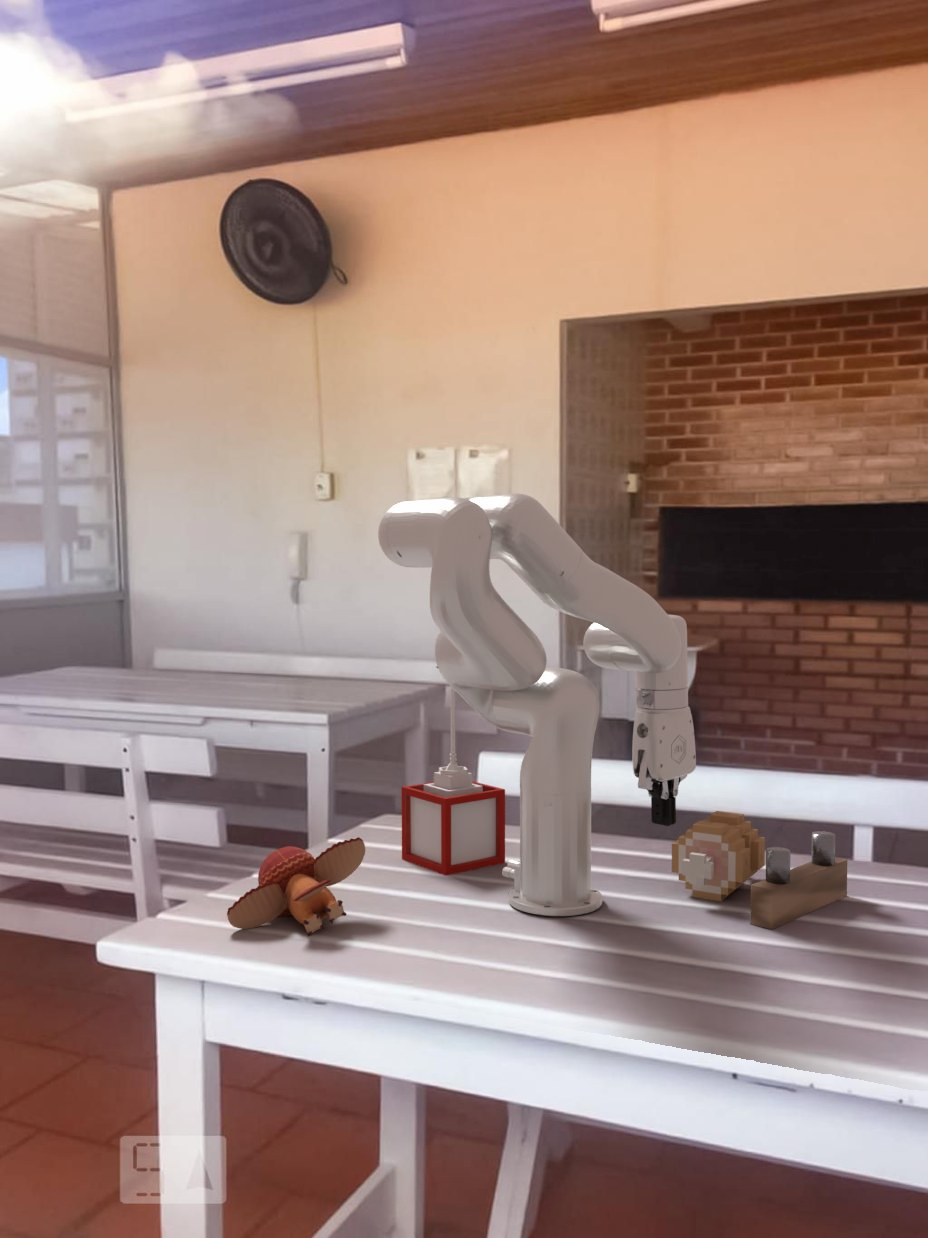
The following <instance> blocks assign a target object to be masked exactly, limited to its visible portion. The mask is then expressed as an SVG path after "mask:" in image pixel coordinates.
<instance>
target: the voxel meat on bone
mask: <svg viewBox="0 0 928 1238" xmlns="http://www.w3.org/2000/svg"><path fill="white" fill-rule="evenodd" d="M765 843H766V837H765V836H764V837H763V836H759V829H756V828H752V821H749V820H748V821H747V820H745V813H738V812H732V811H730V812H729V811H721V810H716V811H714V812H712V813H710V814H709V817H707V818H706V819H704V820H701V819H700V820H699V821H696V822H695V823H693V824H692V827H690V828H688V829H687V830H685V833H684V834H682V835H681V836H679V837H678V839H677V840H675V841H674V842H672V843H671V873H675V874H678V881H679V882H680V881H681V882H685V883H684V884H685V887H684V888H685V889H686V890H691V892H692V896H691V897H694V898H698V899H705V900H711V901H717V902H722V901H723V900H725V898H726V897H728V896H729V895H730V894H732V893H733V892H734V891H735V890H736V889H738V888H739V887H741V886H742V885H743V884H744V883H746V882H747V881H748V880H749V879H751V878H752V877H753V876H754V875H755V874H756V873H758V871H760V870H761V869H762V868H764V866H765V867H766V846H765V845H766V844H765Z"/></svg>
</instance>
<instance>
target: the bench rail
mask: <svg viewBox="0 0 928 1238" xmlns="http://www.w3.org/2000/svg"><path fill="white" fill-rule="evenodd" d="M847 896H848V859H846V858H841V857H837V856H836V833H834V832H831V831H825V830H824V831H823V830H818V831H812V832H811V861H809V862H806V863H804V864H801V865H799V866H796V867H794V868H792V869H791V849H789V848H786V847H781V846H780V847H779V846H769V847H767V848H766V847H765V879H762V880H760V881H757V882H755V883H752V884H750V921H749V922H750V925H753V926H757V927H761V928H764V929H768V930H774V929H776V928H779V927H780V926H783V925H785V924H787V923H789V922H792V921H794V920H796V919H798V918H801V917H803V916H805V915H807V914H810V913H812V912H813V911H816V910H819V909H821V908H822V907H824V906H825V907H826V906H827V905H829V904H832V903H834V902H836V901H838V900H840V899H842V898H844V897H847Z"/></svg>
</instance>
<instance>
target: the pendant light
mask: <svg viewBox="0 0 928 1238" xmlns="http://www.w3.org/2000/svg"><path fill="white" fill-rule="evenodd" d="M435 668H436V669H438V666H437V665H436V666H435ZM449 756H450V757H449V762H450V763H448V764H447V766H441V767H438V771H435V772H433V781H432V782H425V783H418V784H411V785H405V786H401V860H404V861H406V862H408V863H412V864H414V865H416V866H420V867H422V868H424V869H427V870H429V871H431V872H435V873H438V874H440V875H444V876H450V875H454V874H458V873H462V872H467V871H472V870H476V869H477V870H479V869H481V868H487V867H490V866H496V865H501V864H504V863H506V789H505V788H501V787H497V786H494V785H489V784H485V783H481V782H478V781H473V773H472V772H468V768H467V767H466V766H462V765H461V766H459V765H458V763H457V760H458V759H457V758H456V757H457V756H458V755H457V753H456V691H455V690H454V689H453V688H452V687H451V686H450V753H449Z"/></svg>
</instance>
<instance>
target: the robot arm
mask: <svg viewBox="0 0 928 1238" xmlns="http://www.w3.org/2000/svg"><path fill="white" fill-rule="evenodd" d="M377 537H378V542H379V546H380V548H381V550H382V552H383V553H384V555H385V556H386V557H387V559H388V560H390V561H391V562H392V563H394V564H396V565H398V566H400V567H403V568H404V567H405V568H419V569H420V568H431V571H430V584H429V609H430V614H431V617H432V620H433V622H434V623H435V625H436V626H437V627H438V629H439V630H440V631H439V633H438V635H437V638H436V639H435V644H434V658H435V663H436V666H438V668H437V670H438V672H439V673H440V674H441V677H442V678H443V679H444V680H445V682H446V683H447V684H448V686H450V688H451V687H452V688H453V689H454V690H455V693H457V694H458V695H459V696H460V697H461V698H462V699H463V700H464V701H465V702H466V703H467V704H468V705H469V706H470V707H471V708H472V709H473V710H475V712H476V713H477V714H478V715H479V716H480V717H482V718H483V719H484V720H485V721H486V722H487V723H489V724H490V725H491V726H493V727H494V728H496V729H499V730H501V731H505V732H508V733H511V734H519V735H524V736H529V737H531V739H530V743H529V745H528V747H527V749H526V752H525V754H524V756H523V759H522V761H521V764H520V771H519V860H517V859H516V860H515V859H510V860H509V861H508V862H507V865H506V866H504V867H503V868H502V870H501V874H502V877H504V878H509V879H513V880H514V883H513V885H514V887H513V888H511V889H510V891H508V903H509V904H510V906H511V907H512V908H514V909H516V910H519V911H521V912H525V913H527V914H533V915H538V916H546V917H547V916H548V917H571V916H580V915H585V914H589V913H593V912H594V911H596V910H598V909H599V908H601V907H602V905H603V894H602V892H600V891H599V890H598V889H597V888H594V887H592V883H591V882H592V762H593V761H592V759H593V748H594V742H595V741H594V740H595V734H596V731H597V725H598V720H599V716H600V715H599V714H600V698H599V694H598V693H599V692H598V691H597V688H596V687H595V685H594V684H593V683H592V681H591V680H590V679H589V678H587V677H586V676H585V675H583V674H582V673H580V672H577V671H575V670H573V669H567V668H561V667H552V666H547V662H548V660H547V653H546V651H545V648H544V645H543V643H542V642H541V640H540V639H539V636H537V634H536V633H535V632H534V631H533V630H532V628H531V627H529V626H528V624H526V622H524V621H523V619H522V618H521V617H520V616H519V614H517V613H516V612H515V610H513V608H512V607H511V606H510V605H509V604H508V603H507V602H506V601H505V600H504V599H503V598H502V597H501V595H500V594H499V592H498V591H497V589H496V588H495V587H494V585H493V582H492V581H491V580H492V579H491V575H490V572H491V571H490V562H491V560H500V561H502V562H504V563H505V564H506V565H507V566H508V567H509V568H510V570H512V571H513V572H514V573H515V574H516V575H517V576H518V577H519V578H520V579H521V580H522V581H523V583H525V585H527V586H528V587H529V588H530V589H531V591H532V592H533V593H534V594H535V595H536V596H537V597H538V599H540V600H541V601H542V602H543V603H544V604H545V605H546V606H547V607H550V608H551V609H553V610H556V611H558V612H560V613H562V614H566V615H568V616H570V617H573V618H574V617H575V618H577V619H580V620H585V621H587V622H588V621H589V622H591V624H590V626H588V628H587V630H586V631H585V633H584V636H583V650H584V653H585V654H586V656H587V659H589V660H590V662H592V663H593V664H595V665H596V666H598V667H600V668H602V669H608V670H615V671H616V670H617V671H629V672H634V674H635V675H634V677H635V678H634V679H635V682H634V683H635V710H636V711H635V714H634V719H633V720H634V721H633V730H632V731H633V732H632V746H631V747H632V748H631V750H632V752H631V753H632V757H631V760H632V762H631V763H632V771H633V775H634V777H636V778H638V781H637V787H638V789H641V790H646V791H647V793H648V797H650V799H651V800H650V801H651V803H650V806H651V809H650V811H651V822H652V824H656V825H660V826H661V825H662V826H666V827H669V826H670V827H671V825H675V824H676V823H677V810H676V809H677V805H676V799H677V798H676V797H677V796H678V794H679V785H680V783H681V782H683V781H684V780H685V779H686V778H687V777H688V775H690V774H692V773H693V772H695V770H696V766H697V756H696V755H697V754H696V753H697V752H696V739H695V738H696V737H695V729H694V721H693V715H692V713H691V712H692V711H691V707H690V706H689V687H688V685H689V683H688V680H689V679H688V678H689V677H688V676H689V675H688V670H689V669H688V628H687V627H688V626H687V622H686V620H685V619H684V618H683V616H680V615H675V614H668V613H667V612H666V611H665V610H664V609H663V608H662V606H661V605H660V603H658V602H657V600H656V599H655V598H653V596H651V595H650V594H649V593H648V592H646V591H645V590H644V589H642V588H641V587H639V586H638V585H636V584H634V583H632V582H631V581H629V580H627V579H625V578H624V577H622V576H620V575H618V574H617V573H615V572H614V571H612V570H610V569H609V568H607V567H604V566H603V565H601V564H599V563H596V562H595V561H594V560H592V559H591V558H590V557H589V556H588V555H587V554H586V553H585V552H584V551H583V549H581V547H580V546H579V545H578V544H577V542H576V541H575V540H574V539H573V538H572V536H570V535H569V534H568V533H567V531H566V530H565V529H564V528H563V527H562V526H561V525H560V524H559V522H558V521H557V520H556V519H555V518H554V517H553V515H551V513H550V512H549V511H548V510H547V509H546V508H545V507H544V506H543V504H542V503H541V502H539V501H538V500H537V499H535V498H534V497H532V496H530V495H527V494H524V493H502V494H489V495H480V496H479V495H477V496H471V497H441V498H440V497H439V498H437V497H436V498H429V499H418V500H417V499H415V500H407V501H400V502H398V503H397V504H394V505H393V506H391V507H390V508H389V509H388V510H387V511H385V513H384V515H383V516H382V518H381V519H380V522H379V526H378V532H377Z"/></svg>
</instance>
